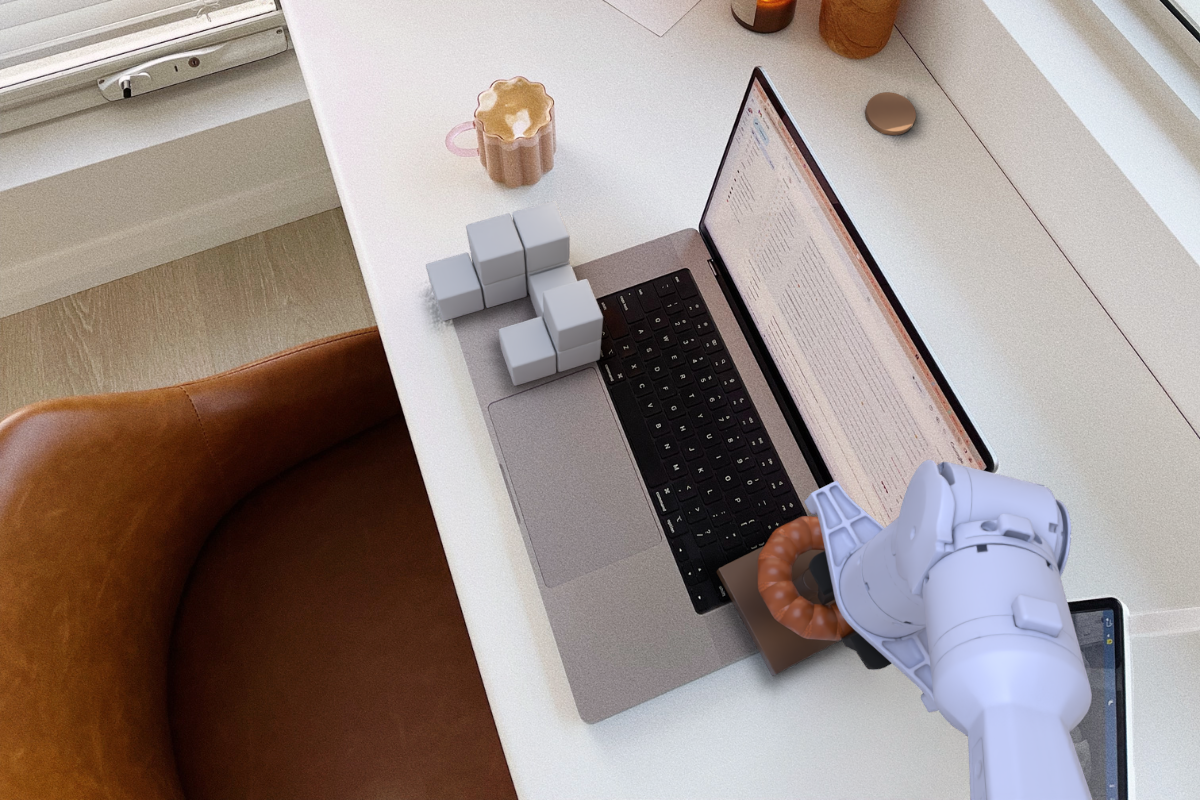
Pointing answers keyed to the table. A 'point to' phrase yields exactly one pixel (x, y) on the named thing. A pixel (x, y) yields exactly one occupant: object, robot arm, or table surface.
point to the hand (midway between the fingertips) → (844, 616)
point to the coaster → (890, 113)
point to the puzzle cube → (524, 290)
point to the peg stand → (766, 632)
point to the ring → (781, 590)
